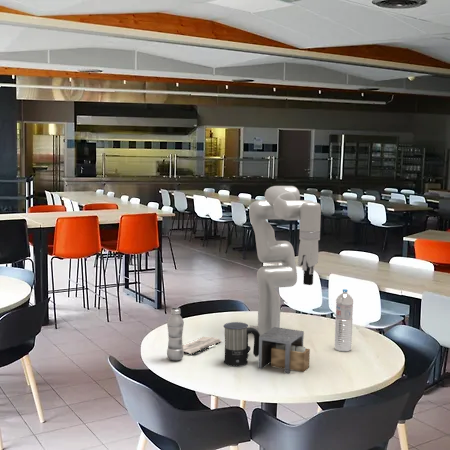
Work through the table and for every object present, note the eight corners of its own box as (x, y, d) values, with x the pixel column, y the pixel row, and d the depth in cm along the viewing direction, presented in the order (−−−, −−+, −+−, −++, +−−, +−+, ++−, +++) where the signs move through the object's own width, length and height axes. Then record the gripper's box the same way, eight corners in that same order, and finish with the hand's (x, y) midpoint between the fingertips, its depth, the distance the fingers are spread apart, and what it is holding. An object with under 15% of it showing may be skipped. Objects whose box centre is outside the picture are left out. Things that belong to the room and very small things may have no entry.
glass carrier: (270, 366, 238) (271, 345, 237) (276, 361, 243) (277, 341, 242) (304, 372, 232) (304, 350, 231) (309, 367, 237) (309, 346, 237)
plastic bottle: (186, 358, 245) (186, 307, 243) (179, 363, 239) (180, 311, 237) (171, 356, 247) (171, 306, 245) (163, 361, 241) (164, 310, 239)
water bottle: (351, 352, 256) (353, 291, 253) (334, 351, 257) (336, 290, 254) (351, 347, 263) (353, 288, 260) (334, 346, 264) (336, 287, 261)
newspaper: (194, 358, 247) (193, 352, 247) (169, 355, 254) (169, 349, 254) (226, 344, 266) (225, 338, 266) (202, 341, 273) (202, 336, 273)
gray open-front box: (258, 368, 235) (259, 336, 234) (273, 357, 248) (274, 326, 247) (288, 374, 230) (289, 341, 228) (302, 362, 243) (303, 331, 242)
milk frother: (229, 368, 235) (230, 329, 233) (212, 355, 249) (212, 319, 247) (263, 363, 241) (264, 325, 239) (244, 351, 255) (245, 315, 253)
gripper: (306, 232, 243) (305, 279, 245) (293, 237, 229) (291, 286, 231) (325, 234, 239) (323, 282, 241) (312, 238, 226) (311, 289, 228)
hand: (308, 284), depth 236 cm, fingers closed
